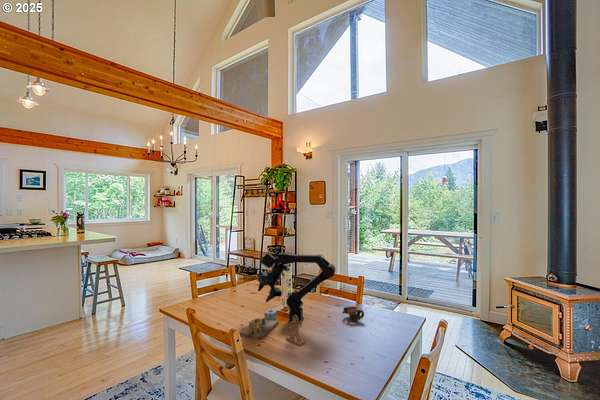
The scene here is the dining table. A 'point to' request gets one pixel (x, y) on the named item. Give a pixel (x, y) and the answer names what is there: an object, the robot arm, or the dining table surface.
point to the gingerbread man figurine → (292, 338)
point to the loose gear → (271, 314)
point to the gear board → (259, 328)
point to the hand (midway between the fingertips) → (262, 296)
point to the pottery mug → (353, 314)
